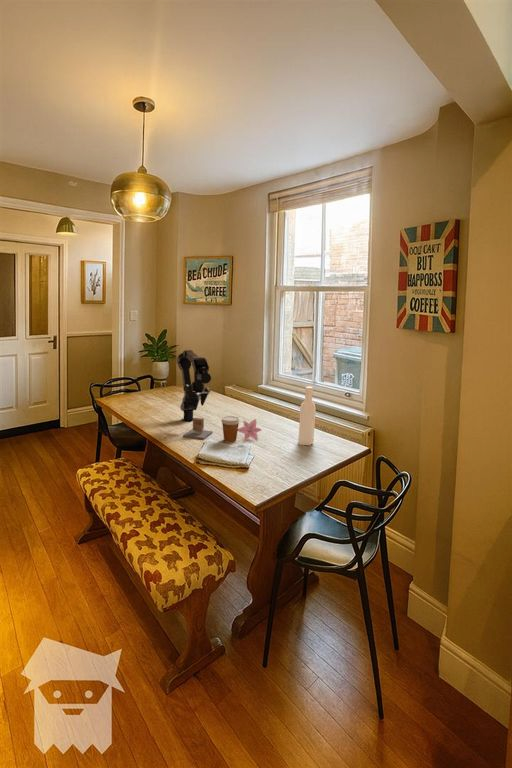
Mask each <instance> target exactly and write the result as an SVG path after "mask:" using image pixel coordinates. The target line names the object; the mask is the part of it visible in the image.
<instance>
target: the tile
mask: <svg viewBox="0 0 512 768" xmlns="http://www.w3.org/2000/svg"><path fill="white" fill-rule="evenodd" d="M187 432H188V430H186V429H182V428H181V429H180V428H176V429H174V430H171V431H170V432H169V435H170V436H174V437H175V436H177V437H180V436H183V435H184V434H185V433H187Z"/></svg>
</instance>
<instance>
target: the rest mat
mask: <svg viewBox="0 0 512 768" xmlns="http://www.w3.org/2000/svg"><path fill="white" fill-rule="evenodd" d="M212 434H214V433H213V430H206V429H205V430H204V429H203V434H196V433H193V428H192V429H190V430H189V431H188V430H187V432H186V433H184V434H182V437H183V438H187V437H188V438H190V439H196V440H206V439H207V438H209V436H211V435H212Z"/></svg>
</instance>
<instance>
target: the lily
mask: <svg viewBox="0 0 512 768" xmlns="http://www.w3.org/2000/svg"><path fill="white" fill-rule="evenodd" d="M242 423H243V426H242V427H240V428H239V427H238V432H239V433H241V434H244V439H243V440H244V441H247V440H248V439H249V438H251V439H253V440H254V441H256V442H257V441H259V438H258V433H259V432H261V431H262V429H261V428H259V427H257V418H254V419H253V420H251V421H250V422H247V421H245V420H243V421H242Z"/></svg>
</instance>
